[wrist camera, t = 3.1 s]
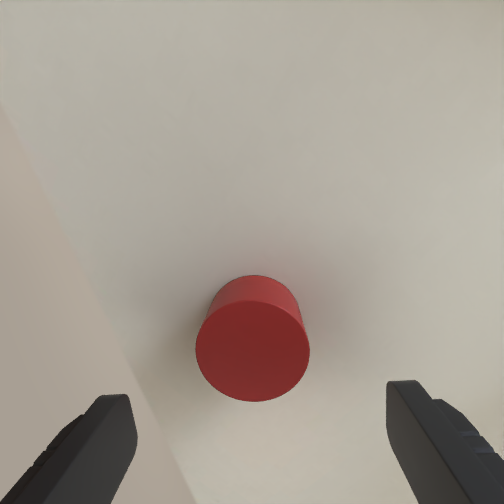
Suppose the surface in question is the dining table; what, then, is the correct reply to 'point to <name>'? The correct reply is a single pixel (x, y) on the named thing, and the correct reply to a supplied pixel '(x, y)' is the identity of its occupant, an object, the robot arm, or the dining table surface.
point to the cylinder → (253, 340)
